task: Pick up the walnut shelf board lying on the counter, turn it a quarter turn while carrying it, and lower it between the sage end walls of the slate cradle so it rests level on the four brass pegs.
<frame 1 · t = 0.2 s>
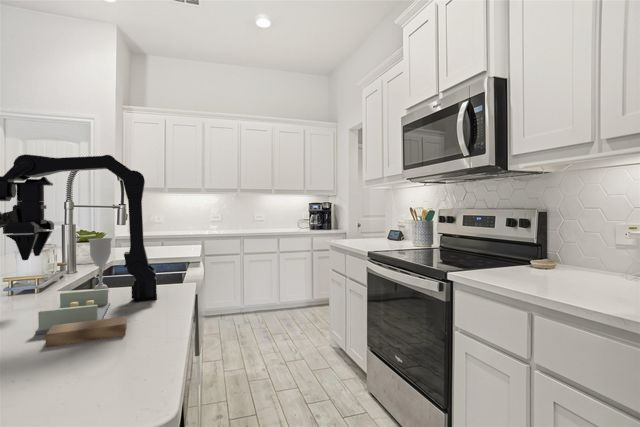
hand: (31, 257, 93), 15 cm above the counter, fingers open, 9 cm apart
chalice: (100, 292, 114), on the counter
shelf board: (89, 338, 74), on the counter
peg cradle: (77, 318, 86), on the counter
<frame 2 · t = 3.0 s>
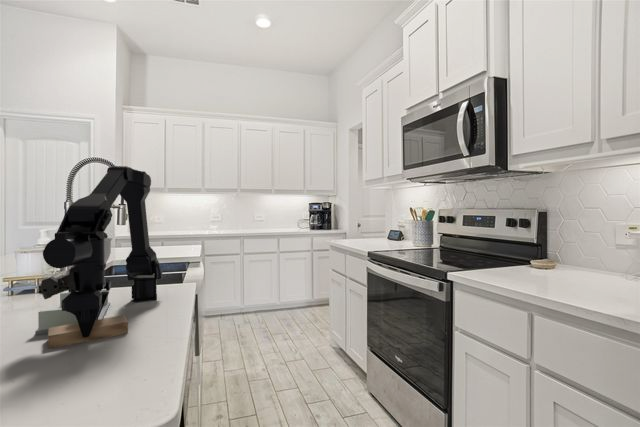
hand: (89, 331, 74), 1 cm above the counter, fingers open, 7 cm apart
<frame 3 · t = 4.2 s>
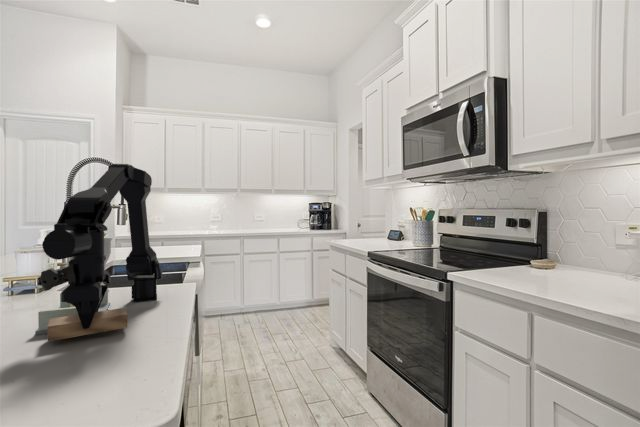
hand: (89, 323, 74), 3 cm above the counter, fingers closed on shelf board, 6 cm apart
shelf board: (89, 329, 74), point 1 cm above the counter, touching gripper
everything else where it was.
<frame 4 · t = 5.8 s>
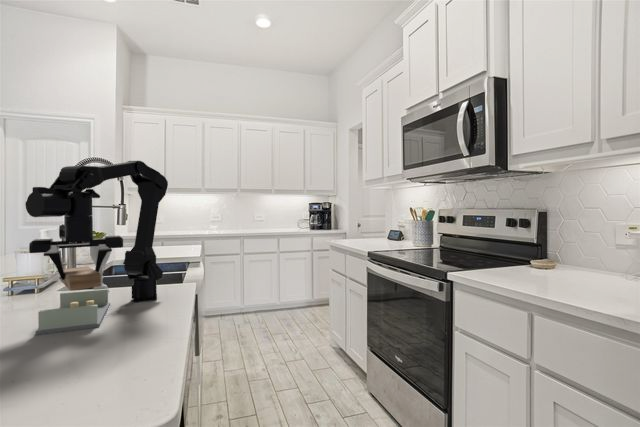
hand: (80, 277, 85), 11 cm above the counter, fingers closed on shelf board, 6 cm apart
shelf board: (80, 283, 85), point 9 cm above the counter, touching gripper
everything else where it was.
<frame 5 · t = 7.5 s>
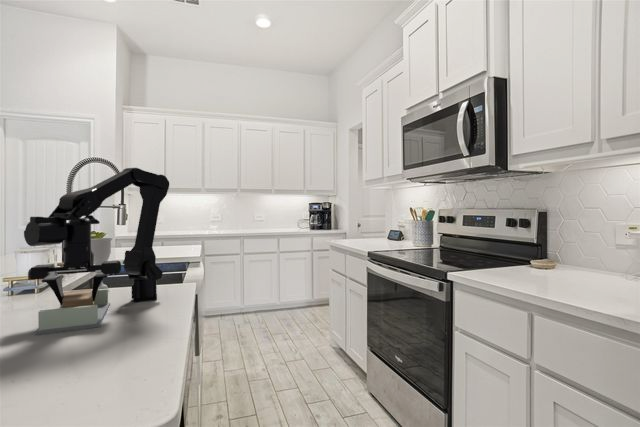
hand: (78, 302, 86), 4 cm above the counter, fingers closed on shelf board, 6 cm apart
shelf board: (77, 307, 86), point 3 cm above the counter, touching gripper, peg cradle
everything else where it was.
when the fingers open (4 cm above the counter, at t = 7.9 s): shelf board stays where it is, resting on peg cradle.
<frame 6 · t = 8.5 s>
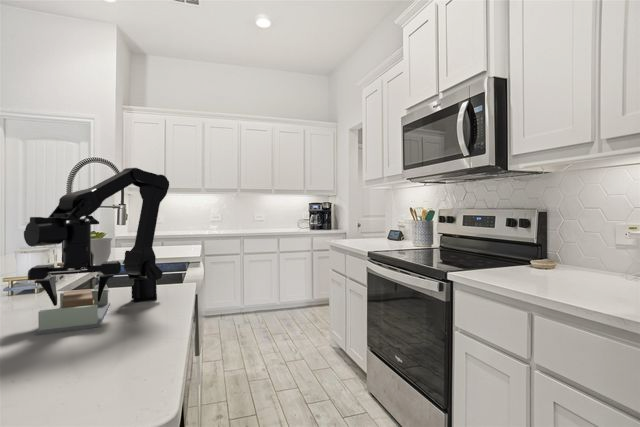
hand: (77, 303, 86), 4 cm above the counter, fingers open, 9 cm apart
shelf board: (77, 307, 86), point 3 cm above the counter, touching peg cradle
everything else where it was.
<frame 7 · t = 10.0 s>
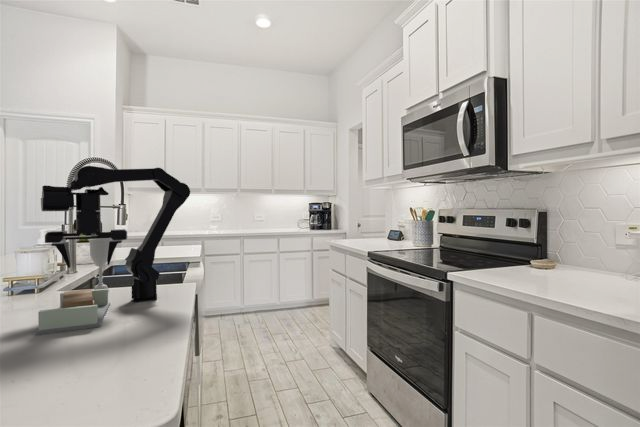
hand: (89, 266, 95), 12 cm above the counter, fingers open, 9 cm apart
nothing on the counter moved.
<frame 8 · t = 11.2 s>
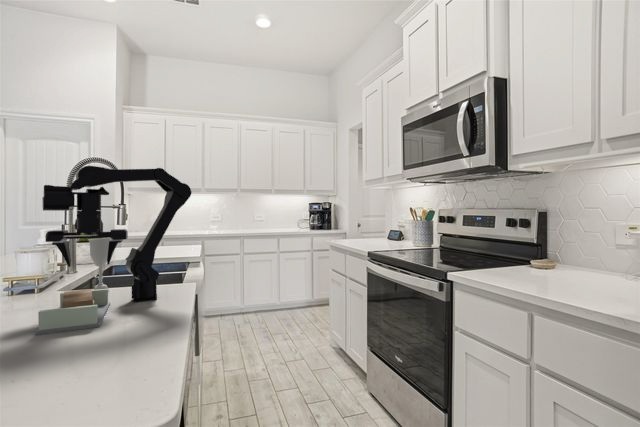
hand: (89, 265, 96), 12 cm above the counter, fingers open, 9 cm apart
nothing on the counter moved.
at the end: shelf board 0.1 cm off-centre on the peg cradle, point 2.8 cm above the peg cradle's base; shelf board tilted 0°; the gripper is holding nothing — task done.
